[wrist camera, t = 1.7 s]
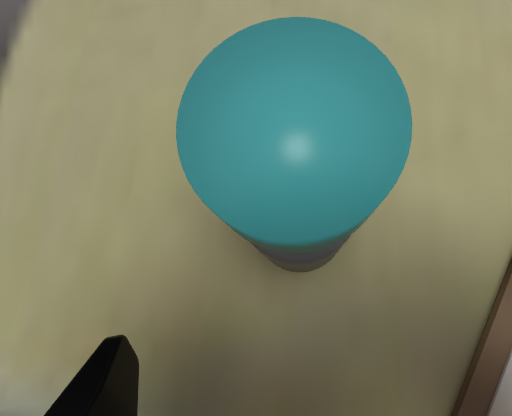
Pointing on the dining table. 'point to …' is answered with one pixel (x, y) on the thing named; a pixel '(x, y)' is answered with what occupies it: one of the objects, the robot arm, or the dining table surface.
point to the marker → (294, 136)
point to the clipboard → (491, 363)
